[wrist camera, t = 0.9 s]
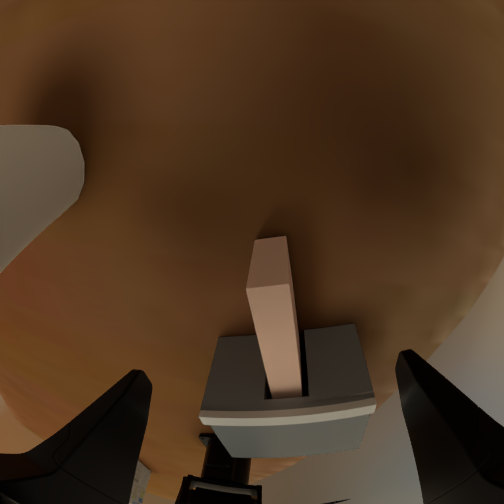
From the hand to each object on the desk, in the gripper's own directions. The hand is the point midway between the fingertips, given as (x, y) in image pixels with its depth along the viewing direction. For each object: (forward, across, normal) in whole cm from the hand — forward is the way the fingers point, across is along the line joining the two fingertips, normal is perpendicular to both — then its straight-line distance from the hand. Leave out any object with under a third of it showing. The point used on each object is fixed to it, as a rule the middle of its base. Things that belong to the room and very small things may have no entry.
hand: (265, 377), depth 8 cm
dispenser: (+9, 0, +10) cm, 14 cm away
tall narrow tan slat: (+9, 0, +4) cm, 10 cm away
